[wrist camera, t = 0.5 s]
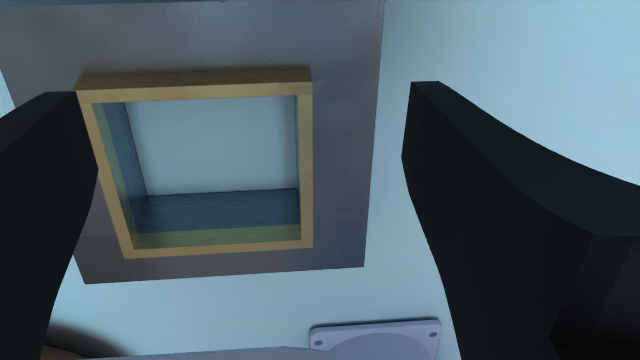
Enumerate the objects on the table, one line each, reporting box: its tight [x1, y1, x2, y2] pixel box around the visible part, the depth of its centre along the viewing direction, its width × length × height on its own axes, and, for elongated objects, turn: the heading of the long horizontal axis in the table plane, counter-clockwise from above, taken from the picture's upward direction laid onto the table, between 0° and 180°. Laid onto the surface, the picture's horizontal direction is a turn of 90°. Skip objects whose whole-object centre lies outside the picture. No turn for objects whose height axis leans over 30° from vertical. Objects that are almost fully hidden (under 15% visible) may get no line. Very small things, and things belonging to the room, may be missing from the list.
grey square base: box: [0, 0, 385, 284], centre depth 22 cm, size 13×13×4 cm
